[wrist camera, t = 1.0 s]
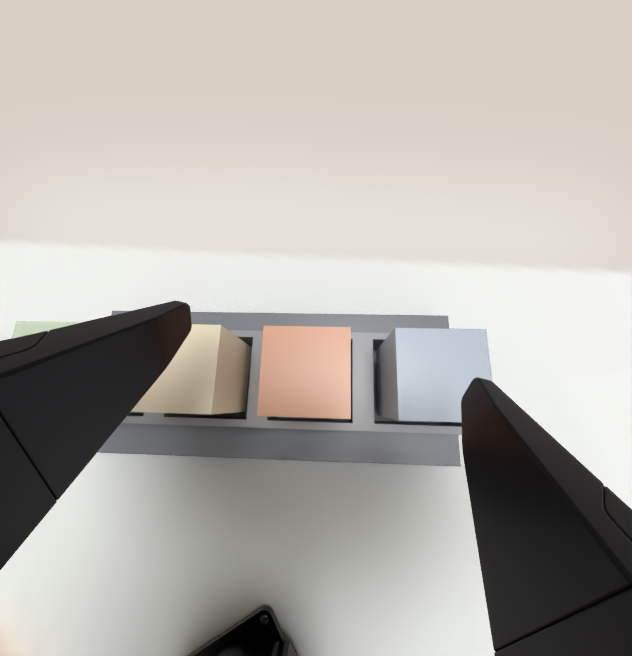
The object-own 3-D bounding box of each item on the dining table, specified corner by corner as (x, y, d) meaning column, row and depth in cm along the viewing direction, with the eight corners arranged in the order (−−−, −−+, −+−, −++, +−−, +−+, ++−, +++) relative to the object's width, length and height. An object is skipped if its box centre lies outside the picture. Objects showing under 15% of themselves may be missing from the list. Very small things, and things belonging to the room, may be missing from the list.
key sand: (181, 409, 18) (121, 411, 13) (190, 345, 19) (137, 323, 14) (245, 411, 18) (211, 414, 13) (250, 346, 19) (221, 324, 14)
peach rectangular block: (278, 412, 18) (256, 415, 13) (281, 347, 19) (263, 325, 14) (344, 414, 18) (350, 418, 13) (344, 349, 19) (350, 327, 14)
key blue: (378, 415, 18) (399, 420, 12) (376, 349, 19) (395, 328, 13) (446, 417, 18) (497, 423, 12) (441, 350, 19) (486, 329, 13)
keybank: (99, 448, 22) (33, 461, 17) (125, 316, 24) (74, 294, 19) (451, 462, 20) (488, 479, 16) (440, 321, 23) (469, 299, 18)
